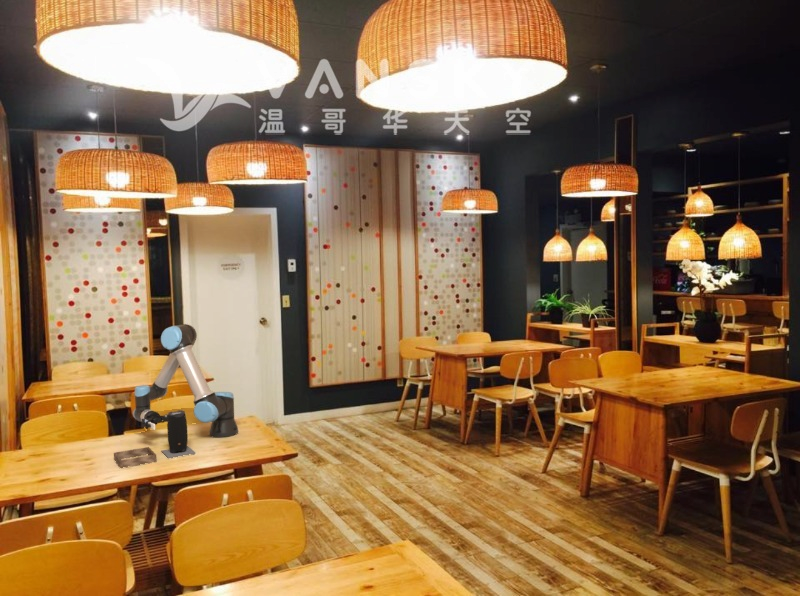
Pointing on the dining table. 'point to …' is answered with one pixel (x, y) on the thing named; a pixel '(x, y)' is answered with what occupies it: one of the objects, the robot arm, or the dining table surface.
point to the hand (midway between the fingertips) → (167, 424)
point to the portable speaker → (177, 431)
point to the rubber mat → (177, 453)
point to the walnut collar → (134, 453)
